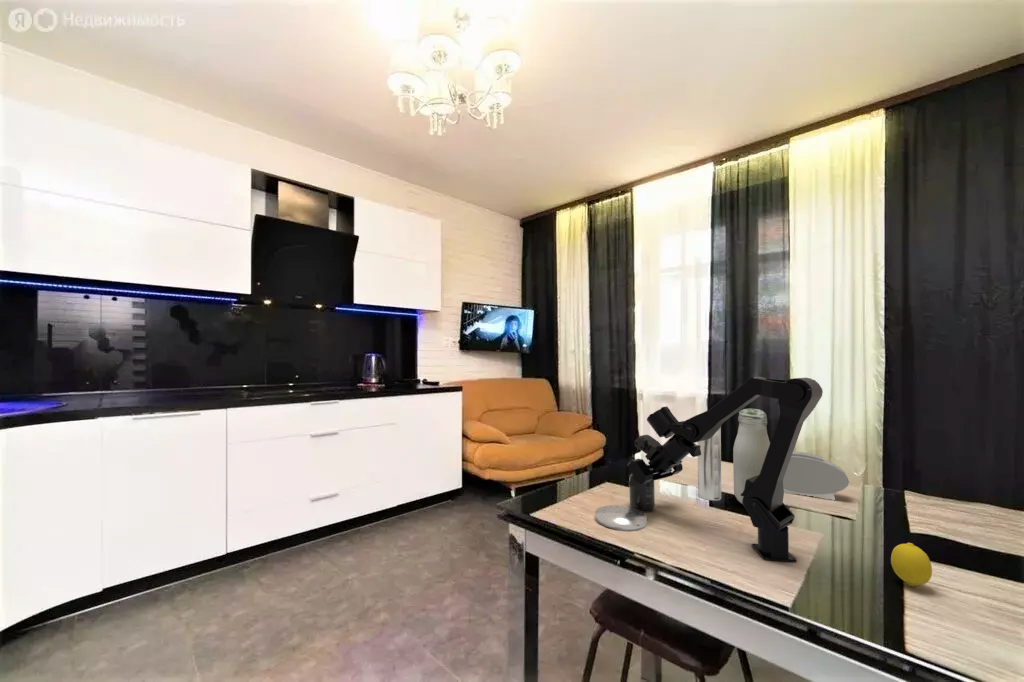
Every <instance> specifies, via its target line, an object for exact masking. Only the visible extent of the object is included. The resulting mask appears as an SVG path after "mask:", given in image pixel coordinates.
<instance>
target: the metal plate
mask: <svg viewBox="0 0 1024 682" xmlns="http://www.w3.org/2000/svg"><path fill="white" fill-rule="evenodd" d="M647 518H648V517H647V515H646V514H645V512H641V511H639V510H637V509H634V508H631V507H630V506H625V505H616V504H615V505H613V504H612V505H604V506H600V507H598V508H597V509H595V511H594V520H595V522H596V523H598V524H599V525H601V526H602V527H605V528H607V529H610V530H615V531H620V530H622V531H623V532H634V531H635V532H636V531H640V530H642V529H644V528H646V526H647V523H648V522H647V521H648V520H647ZM622 531H621V532H622Z"/></svg>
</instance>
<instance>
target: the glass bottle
mask: <svg viewBox="0 0 1024 682" xmlns="http://www.w3.org/2000/svg"><path fill="white" fill-rule="evenodd" d="M767 417H768V416H767V413H766V412H765V411H763V410H762V409H759V408H758V409H757V408H742V409H741V410H740V411H738V417H737V420H738V429H737V434H736V437H735V440H734V444H733V447H732V448H733V449H732V451H733V453H732V457H733V458H732V459H733V461H732V464H733V472H732V473H733V494H734V496H735V498H736V500H737V501H738V502H739V503H740V504H742V505H743V503H742V500H743V497H744V496H741V494H742V493H743V491H744V488H745V482H746V480H747V479H749V478H751V477H754V476H756V475H758V476H759V474H760V472H761V469H762V466H763V463H764V460H765V457H766V454H767V451H768V448H769V445H770V442H771V440H770V439H769V435H768V429H767V425H768V418H767Z"/></svg>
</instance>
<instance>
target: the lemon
mask: <svg viewBox="0 0 1024 682" xmlns="http://www.w3.org/2000/svg"><path fill="white" fill-rule="evenodd" d="M890 564H891V567H892V570H893V572H894V573H895V574H896V575H897V576H898V577H899V579H901V580H902V581H904V582H905V583H907V585H909V587H916V586H922V585H926V584H927V583H928V582H929V581H930V580H931V578H932V576H933V575H932V574H933V568H932V567H933V566H932V563H931V561H930V557H929V556H928V554H927V553H926V552H925V551H923V549H921V548H920V547H919V546H916V545H915V544H914V543H912V542H907V543H900V544H898V545H895V546H894V548H893V549H892V551H891V556H890Z"/></svg>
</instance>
